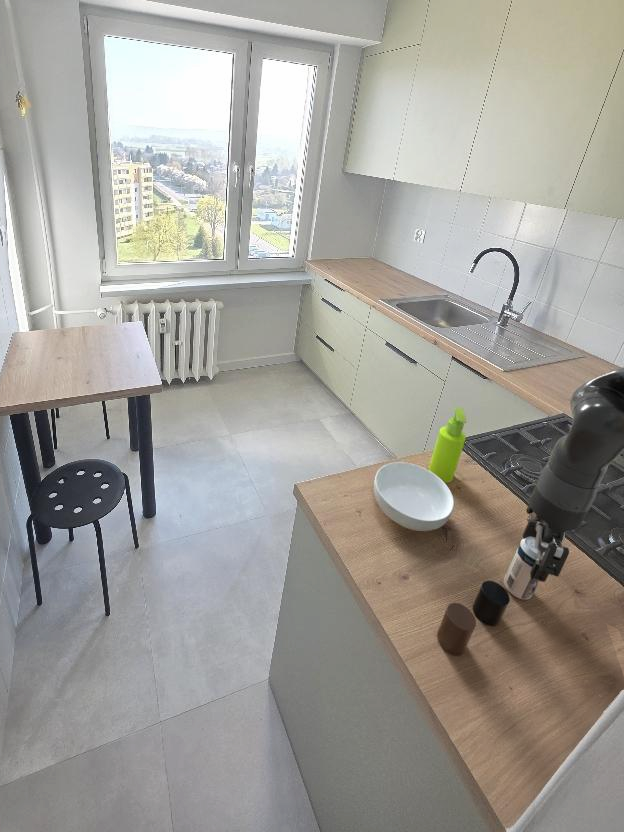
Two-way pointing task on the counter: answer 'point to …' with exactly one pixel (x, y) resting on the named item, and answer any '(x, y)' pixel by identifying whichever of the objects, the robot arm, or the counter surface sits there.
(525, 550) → the beer can
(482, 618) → the black post
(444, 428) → the soap dispenser
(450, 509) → the cereal bowl
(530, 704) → the counter surface
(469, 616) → the walnut post
